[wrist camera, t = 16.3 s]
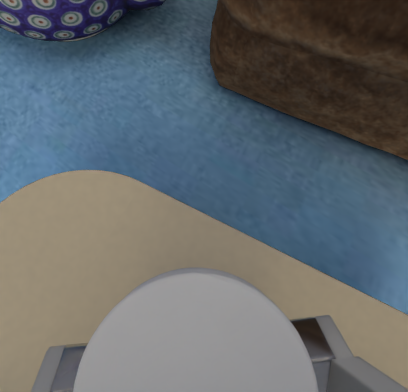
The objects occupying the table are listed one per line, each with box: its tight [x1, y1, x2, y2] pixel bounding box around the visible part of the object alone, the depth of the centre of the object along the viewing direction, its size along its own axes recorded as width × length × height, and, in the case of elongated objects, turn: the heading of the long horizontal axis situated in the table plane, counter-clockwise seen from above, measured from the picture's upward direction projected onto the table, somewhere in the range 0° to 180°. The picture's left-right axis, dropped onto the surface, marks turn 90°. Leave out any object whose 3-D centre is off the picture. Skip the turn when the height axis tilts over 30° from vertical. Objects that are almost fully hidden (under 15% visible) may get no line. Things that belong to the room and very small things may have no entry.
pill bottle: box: [73, 267, 318, 392], centre depth 11 cm, size 6×6×10 cm
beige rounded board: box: [0, 170, 408, 392], centre depth 18 cm, size 22×12×5 cm, turn 63°
